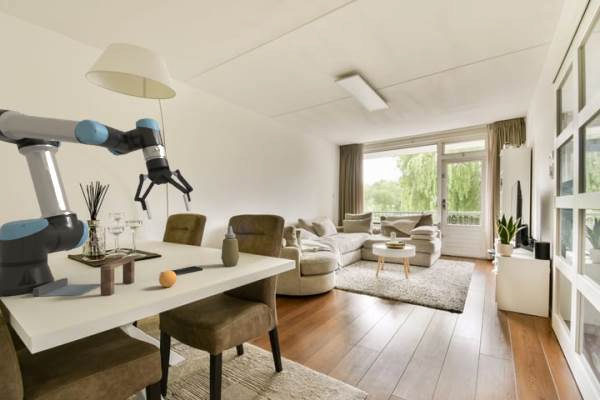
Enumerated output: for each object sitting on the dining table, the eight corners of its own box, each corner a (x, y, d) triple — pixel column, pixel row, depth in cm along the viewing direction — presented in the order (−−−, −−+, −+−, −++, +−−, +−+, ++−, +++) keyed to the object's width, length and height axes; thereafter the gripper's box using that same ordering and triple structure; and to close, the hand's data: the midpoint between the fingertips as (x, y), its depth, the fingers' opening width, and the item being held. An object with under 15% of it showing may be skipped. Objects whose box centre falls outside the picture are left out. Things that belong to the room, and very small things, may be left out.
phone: (204, 268, 119) (168, 275, 107) (204, 271, 119) (168, 278, 107) (194, 265, 124) (159, 272, 113) (194, 268, 124) (159, 275, 113)
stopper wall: (33, 296, 86) (33, 288, 86) (62, 285, 98) (62, 278, 98) (38, 296, 86) (38, 288, 86) (67, 285, 98) (67, 278, 98)
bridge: (100, 295, 86) (100, 265, 86) (125, 282, 101) (125, 257, 101) (110, 295, 86) (110, 265, 87) (134, 282, 101) (134, 256, 101)
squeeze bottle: (237, 267, 123) (236, 226, 123) (218, 267, 123) (218, 226, 123) (241, 263, 131) (240, 225, 131) (224, 263, 131) (223, 225, 132)
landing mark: (40, 296, 86) (40, 295, 86) (68, 285, 98) (68, 284, 98) (81, 295, 87) (81, 294, 87) (104, 284, 99) (104, 283, 99)
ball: (156, 289, 92) (156, 272, 92) (162, 284, 97) (162, 268, 98) (173, 288, 92) (173, 272, 93) (179, 284, 98) (178, 268, 98)
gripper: (117, 160, 94) (133, 221, 93) (192, 153, 109) (205, 205, 108) (117, 166, 100) (131, 223, 99) (187, 159, 115) (200, 209, 114)
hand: (170, 214), depth 104 cm, fingers open, 13 cm apart
